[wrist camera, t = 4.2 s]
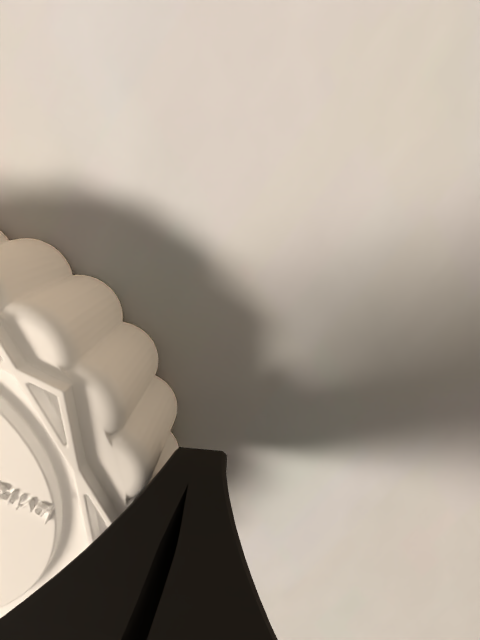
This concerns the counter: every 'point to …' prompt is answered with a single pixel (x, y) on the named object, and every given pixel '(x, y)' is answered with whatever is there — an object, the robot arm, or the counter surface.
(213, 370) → the counter surface
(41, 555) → the mooncake
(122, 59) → the counter surface
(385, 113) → the counter surface
